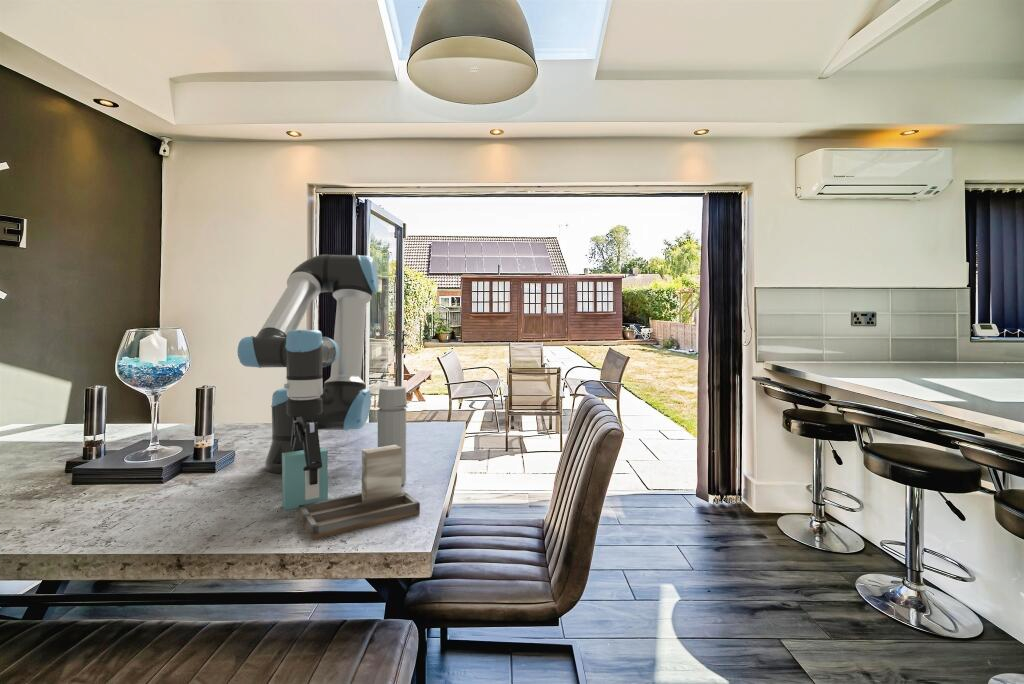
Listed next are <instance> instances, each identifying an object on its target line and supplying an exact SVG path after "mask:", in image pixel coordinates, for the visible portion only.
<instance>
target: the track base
mask: <svg viewBox="0 0 1024 684" xmlns="http://www.w3.org/2000/svg"><path fill="white" fill-rule="evenodd" d="M401 461H402V448H401V447H399V446H397V445H390V446H384V447H378V446H377V447H372V448H371V447H370V448H364V449H361V492H359V493H355V494H351V495H350V494H349V495H344V496H339V497H334V498H330V499H329V498H328V500H324V501H319V502H314V503H309V504H304V505H299V506H298V508H297V510H298V511H297V512H298V515H297V517H298V520H299V521H300V522H301V524H302V525H303V526H304V528H305V529H306V532H307V533H308V534H309V535H310V536H309V537H310V538H311V539H312V540H313V541H315V540H318V539H319V540H320V539H323V538H326V537H331V536H336V535H340V534H343V533H347V532H351V531H357V530H359V529H364V528H368V527H373V526H375V525H380V524H383V523H384V524H385V523H388V522H389V523H390V522H393V521H396V520H397V521H398V520H401V519H405V518H409V517H414V516H416V515H420V514H421V503H420V502H419V501H418V500H417V499H415V498H414V497H413V496H412V495H410V494H409V493H407V492H406V491H405V490H403V489H402V485H401Z"/></svg>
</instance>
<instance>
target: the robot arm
mask: <svg viewBox="0 0 1024 684" xmlns="http://www.w3.org/2000/svg"><path fill="white" fill-rule="evenodd" d="M378 291H379V276H378V270H377V265H376V263H375V260H374V259H373V257H371V256H369V255H359V254H357V255H356V254H355V255H350V254H349V255H348V254H319V255H316V256H313V257H310V258H308V259H306V260H305V261H303V262H302V263H300V264H299V265H298V266H296V267H295V268H294V269H293V270H292V271H291V273H290V274H289V276H288V277H287V280H286V288H285V290H284V292H282V294H281V297H280V298H279V299H278V301H277V303H275V306H274V308H273V309H272V311H271V312H270V314H269V316H268V317H267V319H266V320H265V323H264V324H263V325H262V327H261V329H260V330H259V332H258V333H257V335H256V336H254V335H251V336H245V337H243V338H241V340H240V341H239V342H238V346H237V351H236V352H237V357H238V360H239V363H240V364H241V365H242V366H243V367H246V368H247V367H248V368H249V367H250V368H259V369H262V368H263V369H264V368H286V377H285V378H286V383H284V384H283V388H280V389H276V390H275V391H274V392H273V393H272V398H271V406H270V407H271V435H272V437H271V439H272V440H271V444H270V447H269V450H268V453H267V456H266V459H265V462H264V463H265V471H266V472H269V473H273V474H282V453H286V452H293V451H300V450H304V455H305V461H306V467H304V468H303V471H305V499H306V500H309V499H314V498H319V468H322V460H321V452H320V448H321V445H320V444H321V443H320V437H319V436H320V435H319V431H350V430H360V429H361V428H363V427H364V426H365V424H366V423H367V420H368V418H369V414H370V411H371V407H372V392H371V390H369V389H367V386H366V385H367V384H366V383H365V381H364V380H362V368H363V356H364V355H363V353H364V339H365V327H366V326H365V325H366V314H367V304H368V303H369V302H370V301H372V297H373V294H376V293H378ZM321 293H332V297H333V299H335V300H336V312H335V323H334V334H333V339H332V338H330V337H328V336H323V333H322V331H321V330H318V329H298V327H299V325H300V323H301V321H302V320H303V318H304V316H305V314H306V313H307V310H308V308H309V307H310V305H311V303H312V301H313V299H316V298H317V297H318V296H319V295H320V294H321ZM330 366H331V367H330ZM327 367H330V377H329V378H328V379H327V380H325V381H323V380H324V379H323V368H327ZM323 382H324V383H323ZM312 462H315V463H312Z"/></svg>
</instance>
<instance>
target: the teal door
mask: <svg viewBox="0 0 1024 684" xmlns="http://www.w3.org/2000/svg"><path fill="white" fill-rule="evenodd" d="M320 452H321V460H322V468H319V498H314V499H309V500H306V499H305V471H303V468H304V467H306V461H305V455H304V450H300V451H293V452H286V453H282V473H281V475H282V478H281V481H282V485H281V487H282V490H281V491H282V496H281V497H282V498H281V499H282V501H281V502H282V505H281V506H283V509H284V511H289V510H295V509H298V506H299V505H304V504H309V503H314V502H319V501H324V500H329V497H328V496H329V493H328V491H329V490H328V487H329V486H328V485H329V484H328V482H329V481H328V480H329V479H328V476H329V475H328V474H329V473H328V469H329V468H328V467H329V465H328V456H329V455H328V453H329V451H328V449H326V448H325V447H320ZM312 463H315V462H312Z"/></svg>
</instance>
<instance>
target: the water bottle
mask: <svg viewBox="0 0 1024 684" xmlns="http://www.w3.org/2000/svg"><path fill="white" fill-rule="evenodd" d="M407 398H408V397H407V389H406V387H405V386H400V385H398V386H397V385H395V386H391V385H390V386H382V387H379V391H378V401H377V405H376V408H378V410H377V447H384V446H390V445H397V446H399V447H401V448H402V461H401V486H404V484H405V483H406V481H407V408H408V407H409V406H408V405H407V404H408V399H407Z"/></svg>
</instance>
